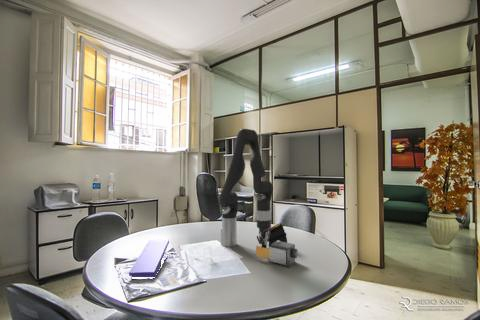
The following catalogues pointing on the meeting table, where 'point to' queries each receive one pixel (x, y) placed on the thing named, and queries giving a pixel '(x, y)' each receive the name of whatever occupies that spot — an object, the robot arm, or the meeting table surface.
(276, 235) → the black ribbed block
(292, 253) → the grey box with knob
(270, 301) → the meeting table surface
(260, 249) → the orange and gray panel
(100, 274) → the meeting table surface
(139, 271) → the purple slab
